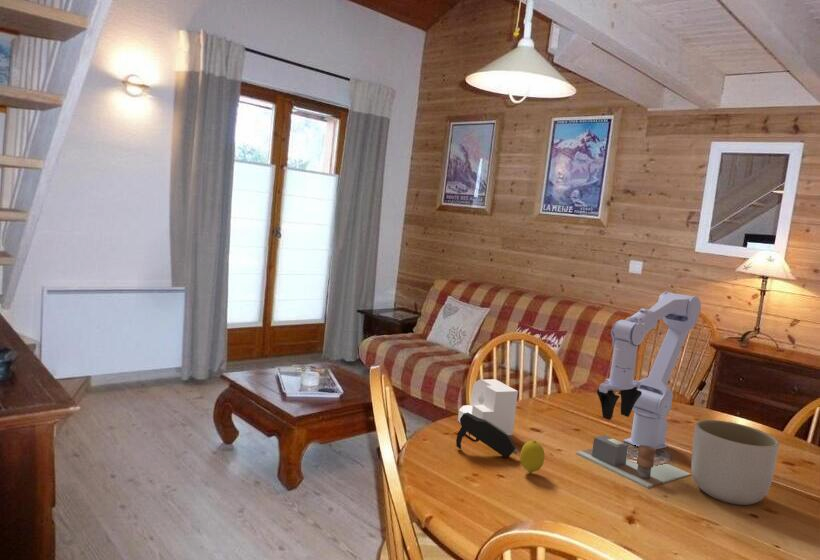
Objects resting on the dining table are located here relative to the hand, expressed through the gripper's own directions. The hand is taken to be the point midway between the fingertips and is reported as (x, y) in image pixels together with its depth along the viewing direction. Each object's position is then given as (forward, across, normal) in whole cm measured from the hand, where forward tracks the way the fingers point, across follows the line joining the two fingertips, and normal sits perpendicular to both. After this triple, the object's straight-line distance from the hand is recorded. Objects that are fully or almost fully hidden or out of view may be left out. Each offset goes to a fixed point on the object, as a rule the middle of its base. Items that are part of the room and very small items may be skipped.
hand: (616, 417), depth 154 cm
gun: (+12, +34, -15) cm, 40 cm away
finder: (+10, +5, +3) cm, 11 cm away
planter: (+11, -7, +27) cm, 30 cm away
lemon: (+11, +30, 0) cm, 32 cm away
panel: (+10, 0, +6) cm, 12 cm away
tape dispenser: (+11, +20, -29) cm, 37 cm away
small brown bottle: (+10, +5, +13) cm, 17 cm away
